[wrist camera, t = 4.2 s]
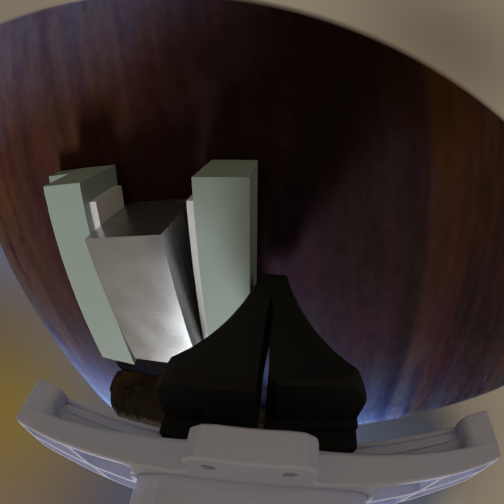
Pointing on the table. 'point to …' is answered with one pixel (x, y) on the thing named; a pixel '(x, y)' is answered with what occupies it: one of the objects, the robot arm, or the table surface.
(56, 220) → the pale green bar
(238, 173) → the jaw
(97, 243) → the block
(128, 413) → the brown wooden log
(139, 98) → the table surface
